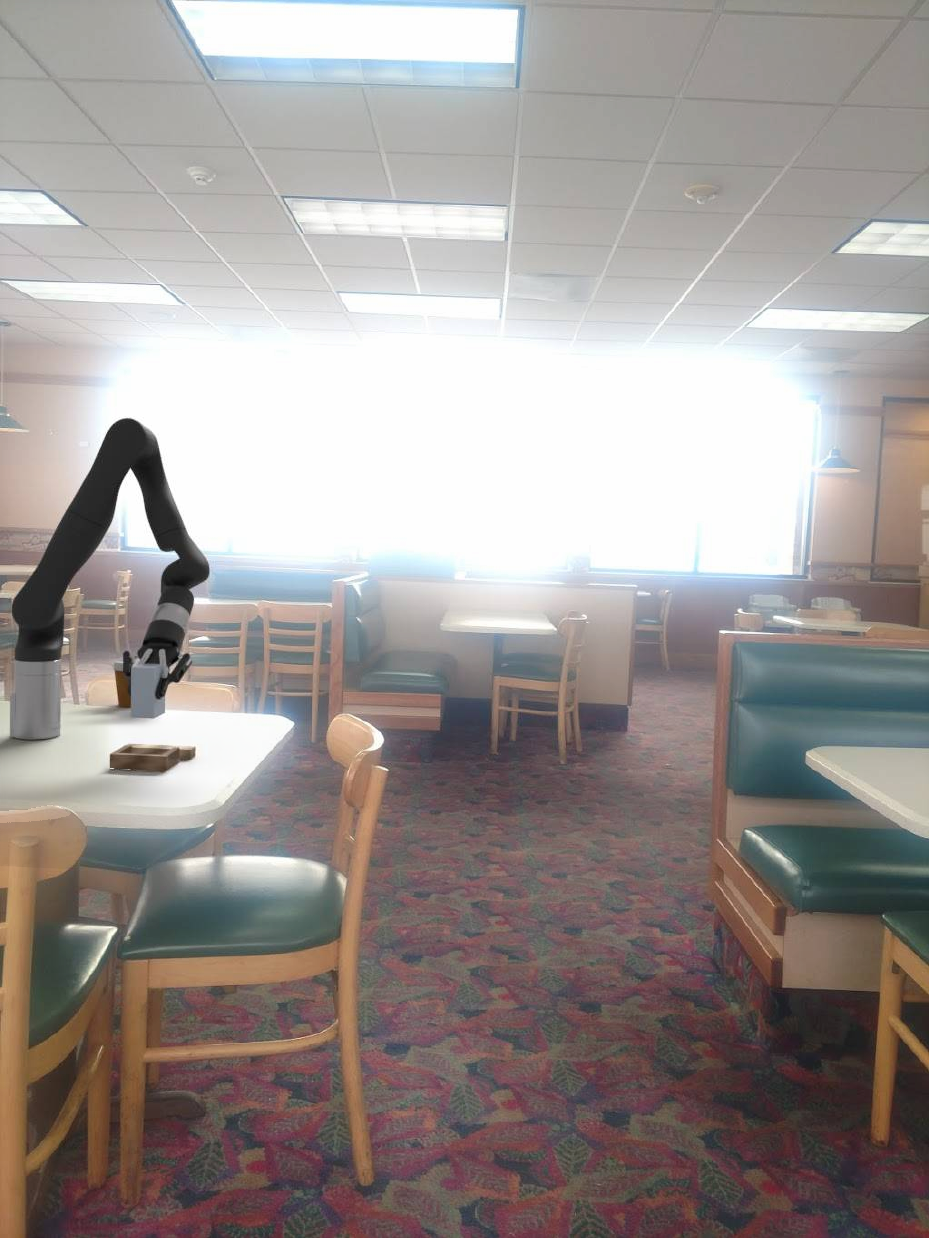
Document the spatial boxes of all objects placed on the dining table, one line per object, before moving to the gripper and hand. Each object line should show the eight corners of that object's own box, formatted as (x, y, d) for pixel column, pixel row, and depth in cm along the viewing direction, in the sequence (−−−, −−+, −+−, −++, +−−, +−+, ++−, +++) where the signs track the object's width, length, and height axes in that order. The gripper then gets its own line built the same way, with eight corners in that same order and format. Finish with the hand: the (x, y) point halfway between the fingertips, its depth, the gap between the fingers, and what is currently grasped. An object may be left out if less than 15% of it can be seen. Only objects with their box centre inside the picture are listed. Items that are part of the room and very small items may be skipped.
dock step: (122, 756, 171) (122, 746, 171) (128, 752, 174) (128, 743, 174) (190, 759, 171) (190, 749, 171) (195, 755, 174) (195, 746, 174)
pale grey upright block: (130, 717, 162) (131, 667, 161) (143, 711, 168) (143, 662, 167) (153, 718, 162) (154, 667, 161) (165, 712, 168) (166, 663, 167)
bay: (109, 769, 161) (109, 754, 160) (125, 759, 168) (125, 745, 168) (165, 771, 161) (166, 756, 161) (179, 762, 168) (179, 747, 168)
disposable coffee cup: (141, 709, 220) (142, 664, 219) (105, 707, 220) (106, 662, 219) (155, 702, 230) (156, 660, 229) (121, 701, 230) (121, 658, 229)
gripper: (128, 616, 171) (102, 684, 159) (197, 619, 171) (176, 686, 160) (138, 639, 176) (113, 706, 165) (205, 642, 176) (185, 708, 165)
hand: (144, 696), depth 162 cm, fingers closed on pale grey upright block, 4 cm apart
